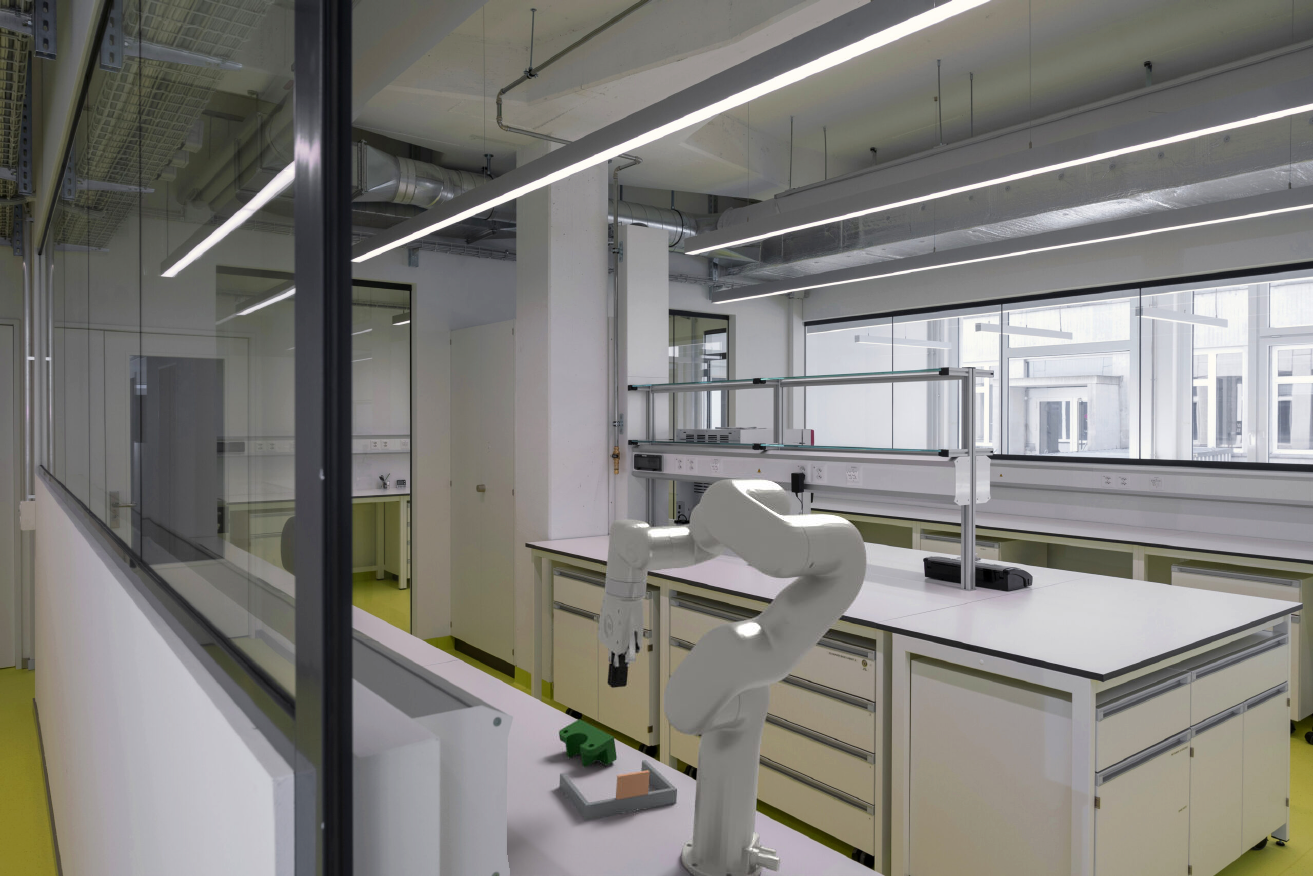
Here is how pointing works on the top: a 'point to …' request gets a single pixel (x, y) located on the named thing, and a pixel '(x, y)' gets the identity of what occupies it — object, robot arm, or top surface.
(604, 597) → the robot arm
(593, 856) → the top surface
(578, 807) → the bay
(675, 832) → the top surface
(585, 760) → the clamp
